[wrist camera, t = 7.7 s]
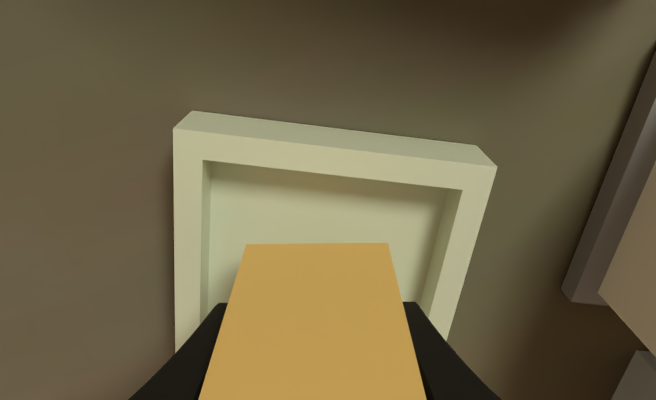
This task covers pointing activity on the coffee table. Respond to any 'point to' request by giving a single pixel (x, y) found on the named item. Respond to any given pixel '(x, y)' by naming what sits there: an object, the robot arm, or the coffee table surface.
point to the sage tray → (321, 205)
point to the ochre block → (314, 327)
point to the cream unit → (624, 227)
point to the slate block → (638, 378)
